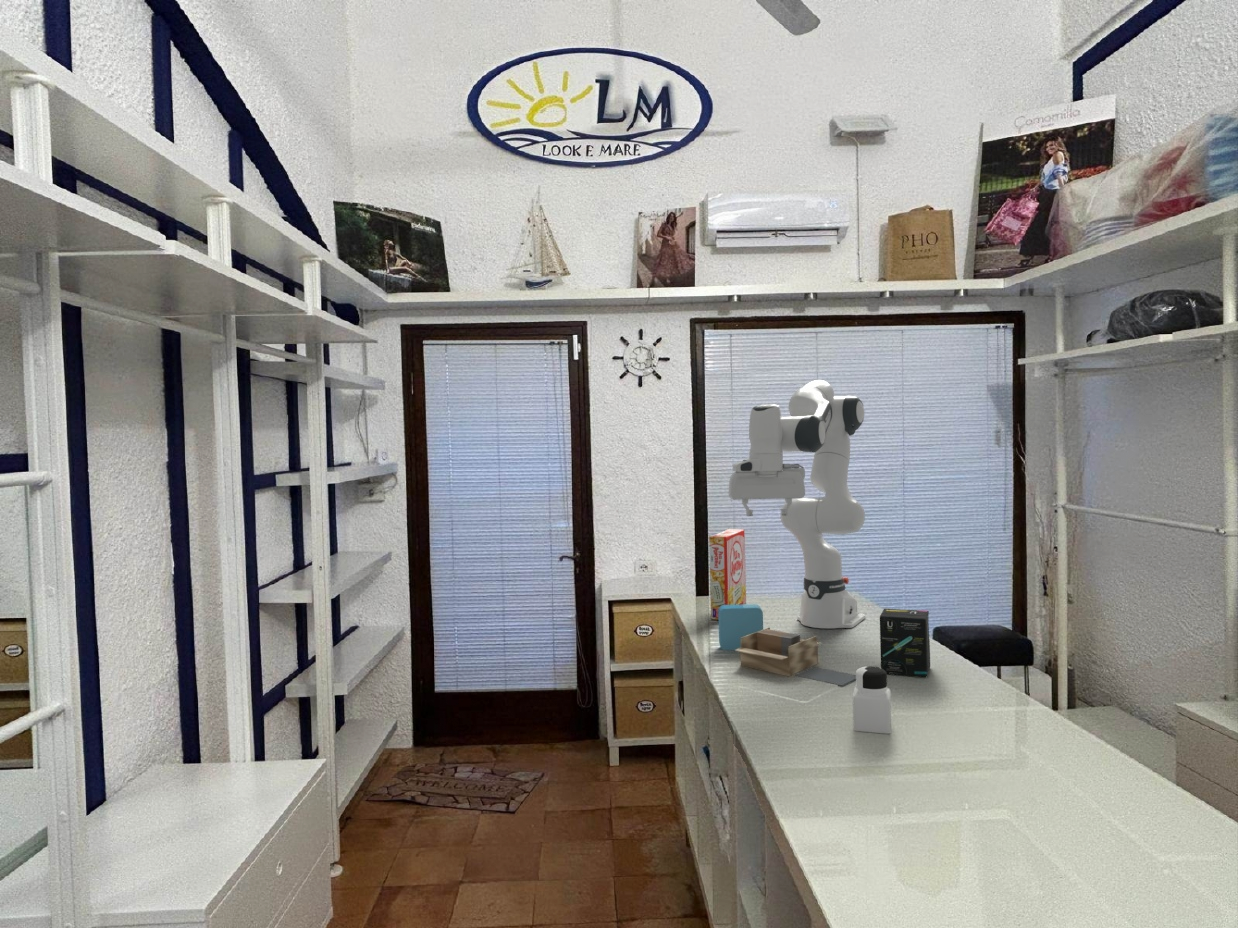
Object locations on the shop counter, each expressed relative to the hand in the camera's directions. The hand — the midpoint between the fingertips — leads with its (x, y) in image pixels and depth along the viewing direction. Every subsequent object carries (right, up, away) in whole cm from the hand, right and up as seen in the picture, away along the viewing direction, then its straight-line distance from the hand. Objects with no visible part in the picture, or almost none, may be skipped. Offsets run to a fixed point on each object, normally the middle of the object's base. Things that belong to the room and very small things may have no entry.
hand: (767, 515), depth 218 cm
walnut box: (+2, -38, -9) cm, 39 cm away
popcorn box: (-3, -36, +51) cm, 62 cm away
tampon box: (+31, -38, -17) cm, 52 cm away
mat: (+11, -38, -19) cm, 44 cm away
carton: (+2, -38, -8) cm, 39 cm away
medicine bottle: (+12, -40, -52) cm, 67 cm away
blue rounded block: (-6, -38, +8) cm, 39 cm away
